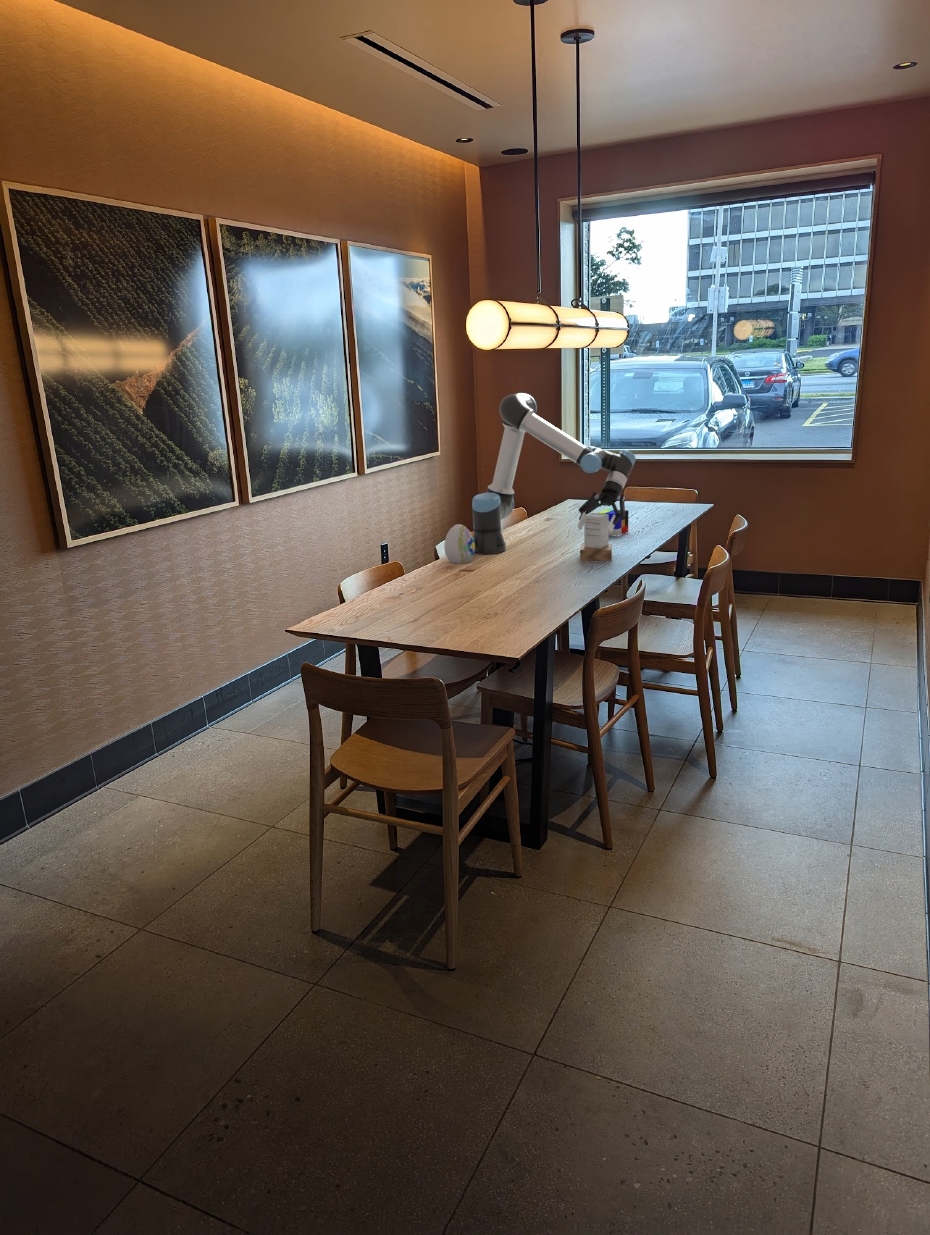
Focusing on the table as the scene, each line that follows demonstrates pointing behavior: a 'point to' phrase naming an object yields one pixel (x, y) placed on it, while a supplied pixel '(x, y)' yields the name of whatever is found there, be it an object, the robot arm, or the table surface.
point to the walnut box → (596, 553)
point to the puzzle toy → (622, 523)
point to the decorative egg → (459, 544)
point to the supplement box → (596, 530)
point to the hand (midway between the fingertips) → (594, 529)
